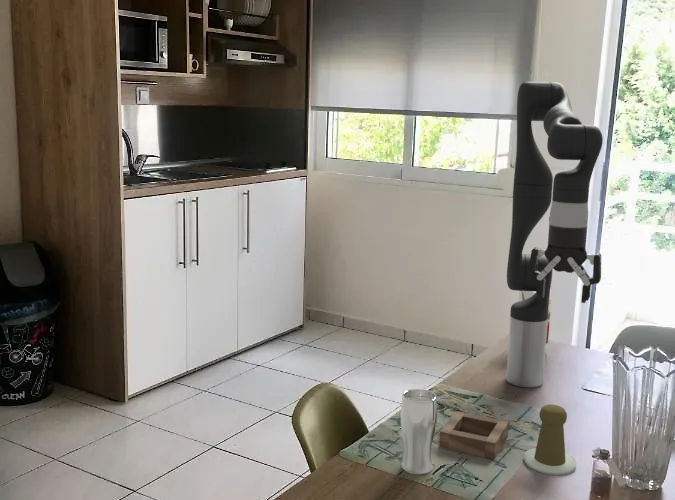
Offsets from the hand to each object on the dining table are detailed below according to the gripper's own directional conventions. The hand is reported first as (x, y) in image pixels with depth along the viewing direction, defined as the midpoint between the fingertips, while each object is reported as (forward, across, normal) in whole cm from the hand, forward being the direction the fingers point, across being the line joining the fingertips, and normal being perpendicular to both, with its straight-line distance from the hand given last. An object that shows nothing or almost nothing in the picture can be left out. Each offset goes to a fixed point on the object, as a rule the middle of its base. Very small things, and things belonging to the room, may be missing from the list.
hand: (562, 299), depth 155 cm
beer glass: (+30, +21, +28) cm, 46 cm away
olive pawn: (+30, -2, +14) cm, 33 cm away
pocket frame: (+30, +14, +12) cm, 35 cm away
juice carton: (+30, +15, -51) cm, 61 cm away
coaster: (+30, -2, +14) cm, 33 cm away
